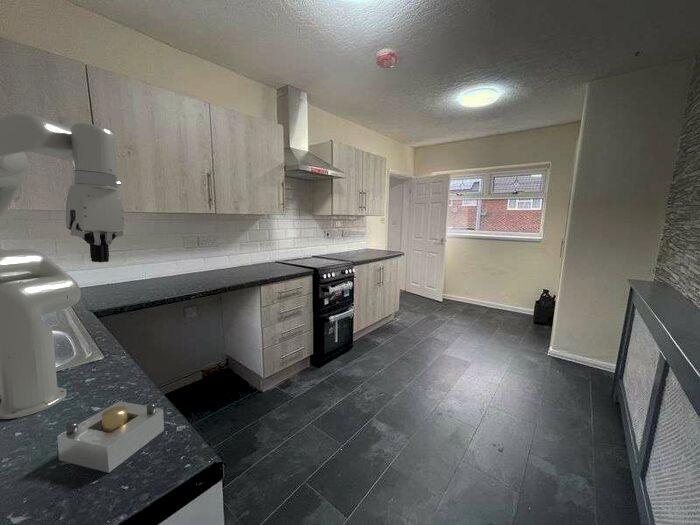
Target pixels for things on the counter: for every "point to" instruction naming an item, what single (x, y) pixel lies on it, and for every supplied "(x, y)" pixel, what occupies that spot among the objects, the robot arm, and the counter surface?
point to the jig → (110, 437)
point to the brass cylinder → (114, 419)
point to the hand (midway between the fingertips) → (100, 261)
